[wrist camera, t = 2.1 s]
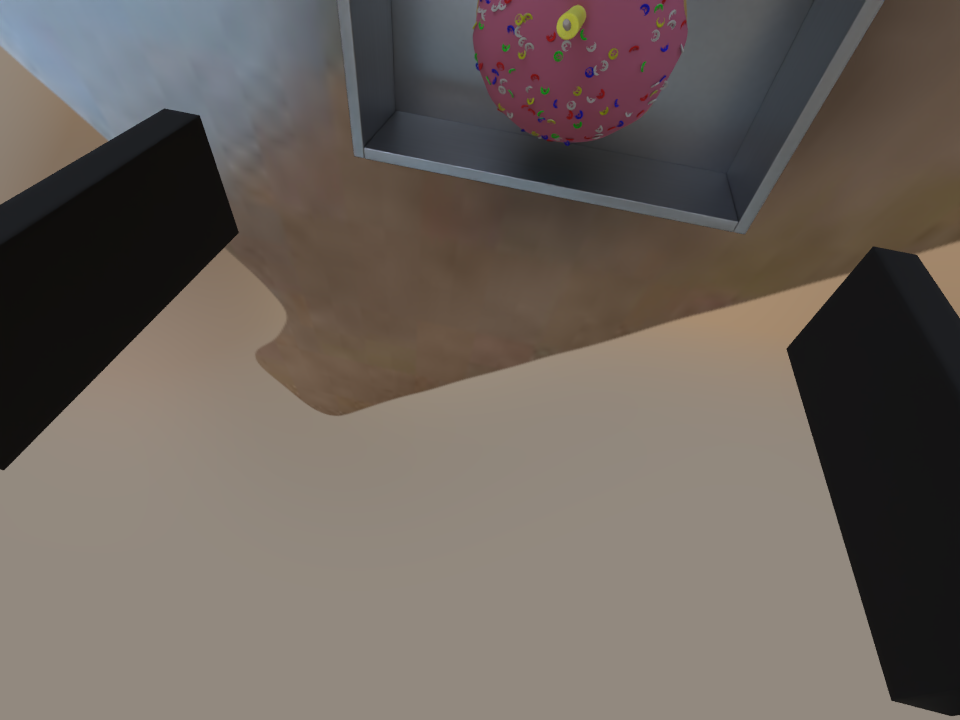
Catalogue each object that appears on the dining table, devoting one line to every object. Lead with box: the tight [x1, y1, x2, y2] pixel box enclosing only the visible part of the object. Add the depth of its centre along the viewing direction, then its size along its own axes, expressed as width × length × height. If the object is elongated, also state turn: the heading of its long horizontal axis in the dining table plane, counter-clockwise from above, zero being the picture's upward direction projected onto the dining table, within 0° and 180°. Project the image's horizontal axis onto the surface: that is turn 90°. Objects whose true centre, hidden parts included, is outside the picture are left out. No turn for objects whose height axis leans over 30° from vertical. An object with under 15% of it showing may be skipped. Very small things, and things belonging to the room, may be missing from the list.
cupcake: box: [472, 0, 688, 146], centre depth 18 cm, size 9×8×12 cm
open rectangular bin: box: [337, 0, 885, 234], centre depth 21 cm, size 20×14×5 cm
